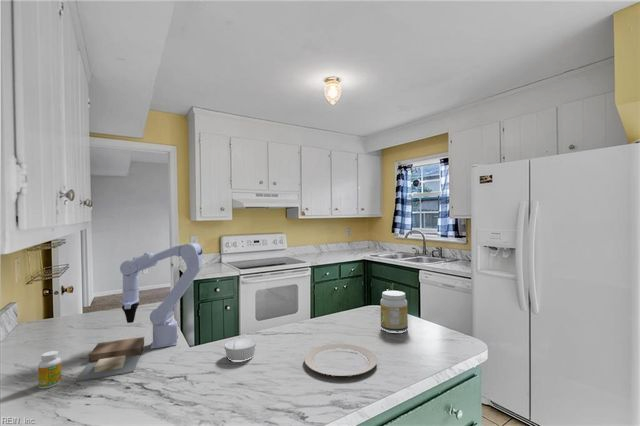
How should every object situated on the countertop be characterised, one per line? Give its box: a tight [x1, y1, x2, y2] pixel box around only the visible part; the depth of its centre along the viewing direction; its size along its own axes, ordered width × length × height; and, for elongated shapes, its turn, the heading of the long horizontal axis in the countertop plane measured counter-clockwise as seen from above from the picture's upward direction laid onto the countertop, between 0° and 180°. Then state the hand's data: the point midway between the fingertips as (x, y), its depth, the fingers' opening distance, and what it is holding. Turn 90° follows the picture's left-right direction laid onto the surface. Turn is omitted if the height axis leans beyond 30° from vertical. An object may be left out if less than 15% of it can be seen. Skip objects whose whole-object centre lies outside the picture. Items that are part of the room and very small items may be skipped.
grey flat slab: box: [75, 354, 141, 383], centre depth 109 cm, size 16×14×1 cm
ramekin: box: [224, 337, 257, 360], centre depth 117 cm, size 11×11×5 cm
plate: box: [304, 343, 378, 377], centre depth 111 cm, size 26×26×2 cm
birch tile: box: [94, 356, 125, 373], centre depth 109 cm, size 8×6×2 cm
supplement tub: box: [379, 290, 409, 332], centre depth 144 cm, size 12×12×17 cm
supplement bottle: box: [37, 350, 62, 389], centre depth 99 cm, size 5×5×10 cm
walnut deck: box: [88, 336, 145, 363], centre depth 122 cm, size 16×12×3 cm
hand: (130, 322), depth 130 cm, fingers closed
